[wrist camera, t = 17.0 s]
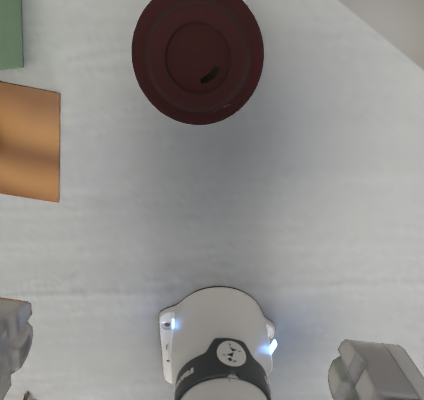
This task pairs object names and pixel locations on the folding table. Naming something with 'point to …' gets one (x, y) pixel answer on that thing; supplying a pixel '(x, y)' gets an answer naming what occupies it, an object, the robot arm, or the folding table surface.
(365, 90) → the folding table surface
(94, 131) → the folding table surface
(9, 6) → the shelf
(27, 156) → the copper sheet
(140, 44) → the coffee cup
